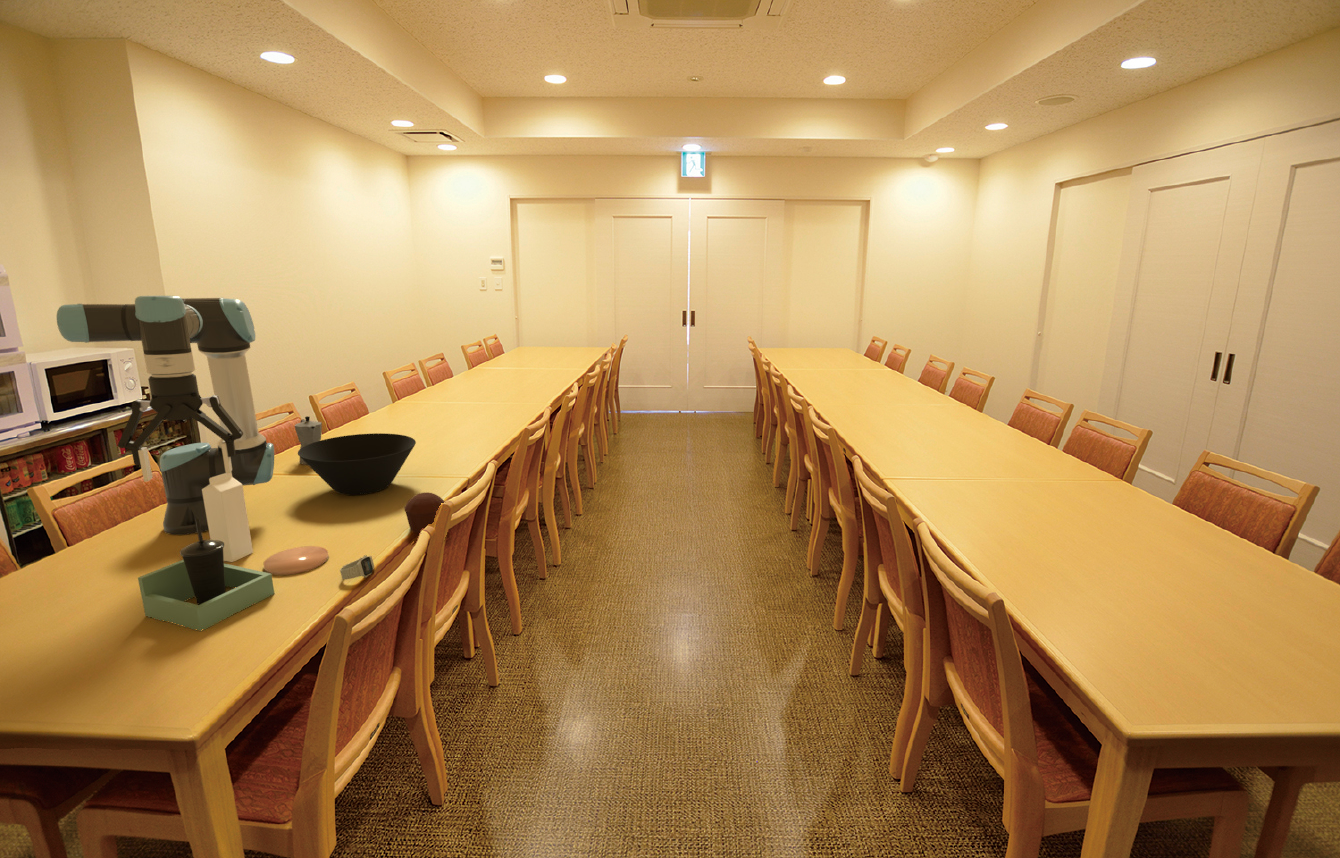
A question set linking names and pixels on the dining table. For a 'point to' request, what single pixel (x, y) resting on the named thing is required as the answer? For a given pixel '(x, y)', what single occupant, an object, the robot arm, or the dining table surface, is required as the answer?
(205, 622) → the frame
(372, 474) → the bowl
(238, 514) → the milk
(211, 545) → the drinking cup
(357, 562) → the wristwatch
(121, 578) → the dining table surface
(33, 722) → the dining table surface
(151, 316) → the robot arm
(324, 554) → the saucer
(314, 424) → the coffeepot
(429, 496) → the muffin
